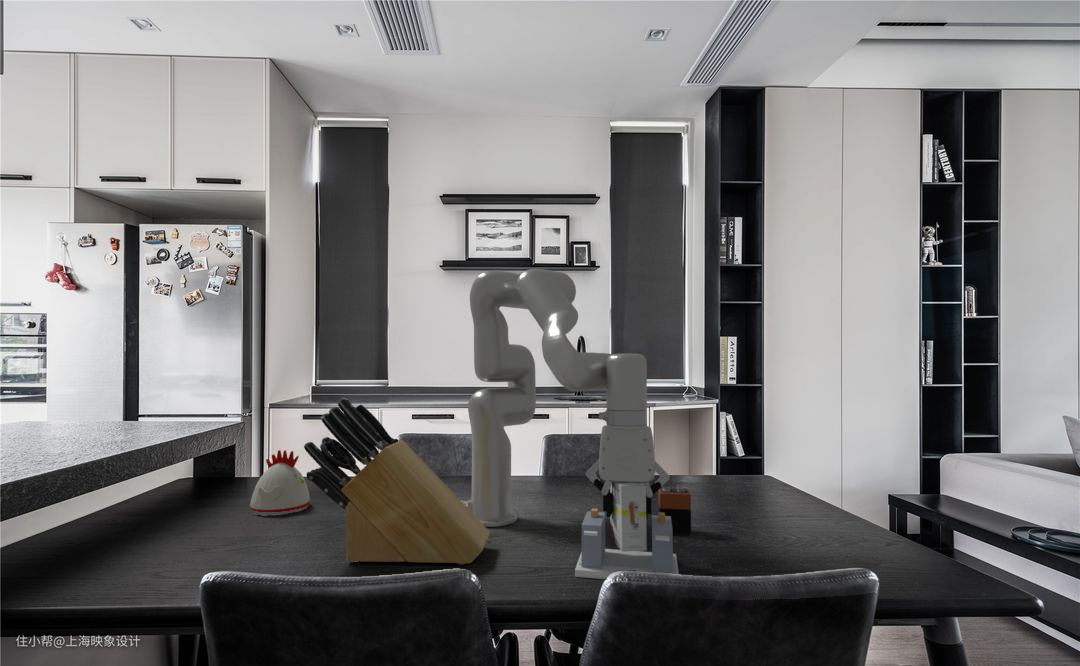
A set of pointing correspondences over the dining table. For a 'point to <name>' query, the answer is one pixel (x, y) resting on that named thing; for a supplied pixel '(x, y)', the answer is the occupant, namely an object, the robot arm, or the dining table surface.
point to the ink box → (628, 516)
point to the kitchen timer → (280, 486)
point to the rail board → (607, 561)
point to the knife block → (390, 495)
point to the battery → (676, 508)
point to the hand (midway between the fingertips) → (627, 515)
